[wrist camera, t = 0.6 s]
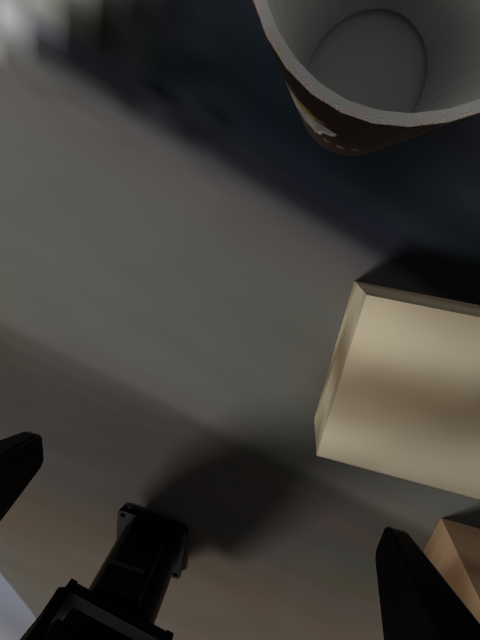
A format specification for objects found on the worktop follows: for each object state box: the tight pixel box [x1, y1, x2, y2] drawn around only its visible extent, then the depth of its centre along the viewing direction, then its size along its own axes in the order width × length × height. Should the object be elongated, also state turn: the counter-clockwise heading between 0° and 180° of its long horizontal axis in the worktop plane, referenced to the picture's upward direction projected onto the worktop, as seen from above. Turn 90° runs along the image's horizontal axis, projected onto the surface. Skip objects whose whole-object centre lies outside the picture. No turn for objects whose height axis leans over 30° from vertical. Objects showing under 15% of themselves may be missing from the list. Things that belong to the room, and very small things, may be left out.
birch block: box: [314, 281, 480, 499], centre depth 18 cm, size 10×10×4 cm
